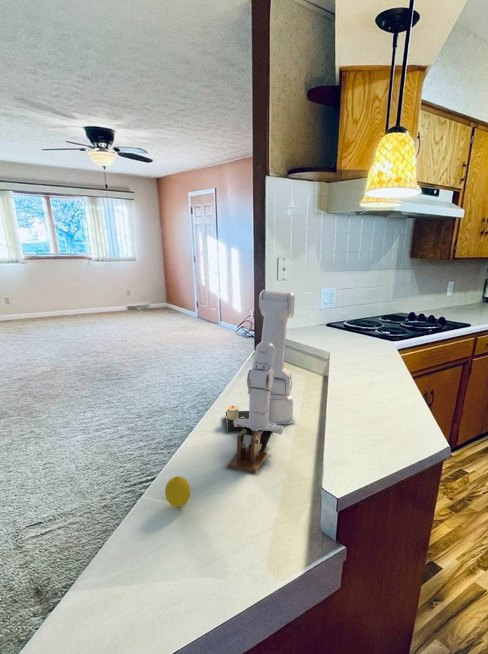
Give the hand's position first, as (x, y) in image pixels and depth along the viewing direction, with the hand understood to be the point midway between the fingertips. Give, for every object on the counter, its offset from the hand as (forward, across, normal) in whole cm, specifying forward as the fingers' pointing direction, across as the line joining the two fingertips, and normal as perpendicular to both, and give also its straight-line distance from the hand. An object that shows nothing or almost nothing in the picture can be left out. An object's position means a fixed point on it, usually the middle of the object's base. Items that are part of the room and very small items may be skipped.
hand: (257, 451), depth 122 cm
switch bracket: (-1, 0, -8) cm, 8 cm away
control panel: (-1, -10, +14) cm, 17 cm away
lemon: (0, -8, -32) cm, 33 cm away
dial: (-4, -13, +12) cm, 18 cm away
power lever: (-4, 0, -5) cm, 6 cm away
